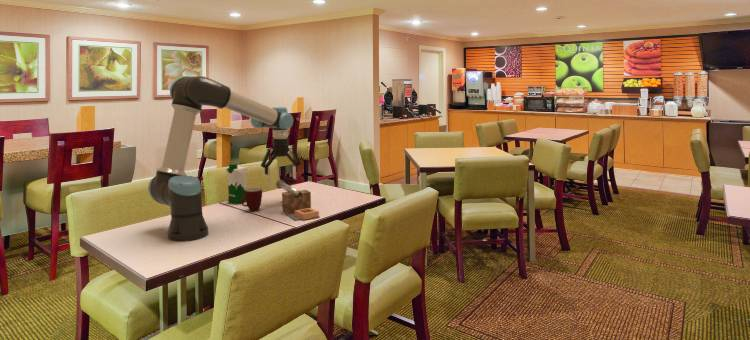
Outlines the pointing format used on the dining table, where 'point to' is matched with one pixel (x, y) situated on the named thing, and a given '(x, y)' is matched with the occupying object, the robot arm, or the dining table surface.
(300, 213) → the frame
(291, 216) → the mat
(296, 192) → the shaft
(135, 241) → the dining table surface
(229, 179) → the milk carton
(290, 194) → the cradle block
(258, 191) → the mug
